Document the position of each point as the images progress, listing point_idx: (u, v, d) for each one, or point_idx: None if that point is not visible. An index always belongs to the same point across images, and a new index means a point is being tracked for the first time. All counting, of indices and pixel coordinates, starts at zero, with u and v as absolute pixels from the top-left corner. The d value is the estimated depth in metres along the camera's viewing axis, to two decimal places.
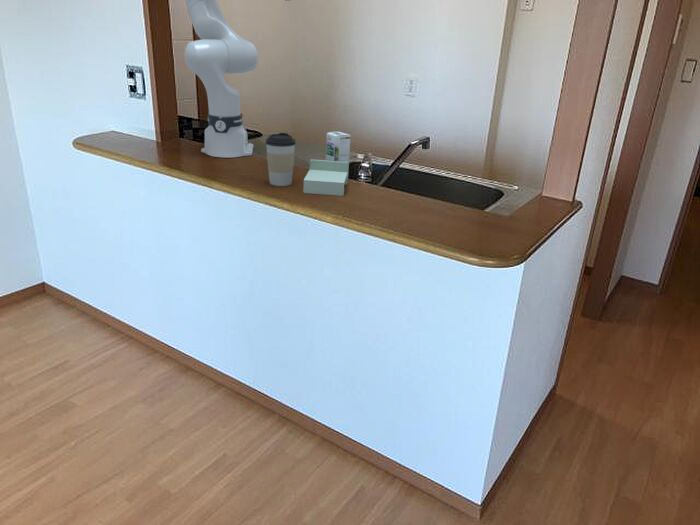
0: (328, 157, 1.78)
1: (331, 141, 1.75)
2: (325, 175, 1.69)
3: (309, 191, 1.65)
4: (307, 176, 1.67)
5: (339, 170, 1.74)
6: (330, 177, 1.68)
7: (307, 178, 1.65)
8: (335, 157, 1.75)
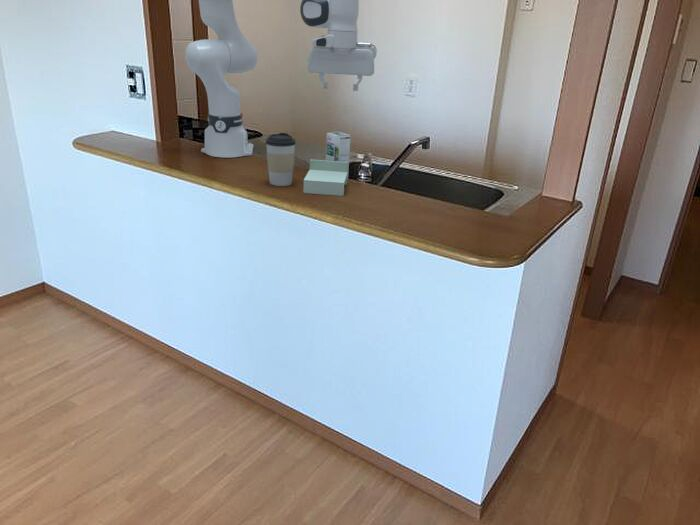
0: (328, 157, 1.78)
1: (331, 141, 1.75)
2: (325, 175, 1.69)
3: (309, 191, 1.65)
4: (307, 176, 1.67)
5: (339, 170, 1.74)
6: (330, 177, 1.68)
7: (307, 178, 1.65)
8: (335, 157, 1.75)
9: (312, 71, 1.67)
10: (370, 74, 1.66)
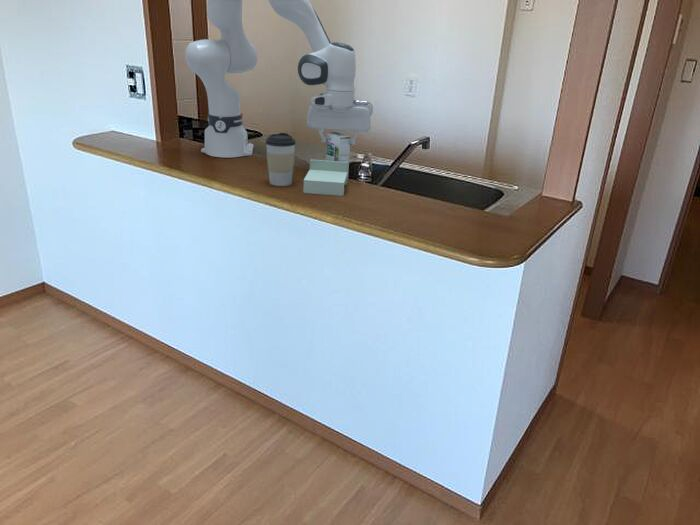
0: (328, 157, 1.78)
1: (331, 141, 1.75)
2: (325, 175, 1.69)
3: (309, 191, 1.65)
4: (307, 176, 1.67)
5: (339, 170, 1.74)
6: (330, 177, 1.68)
7: (307, 178, 1.65)
8: (335, 157, 1.75)
9: (311, 127, 1.74)
10: (367, 130, 1.73)
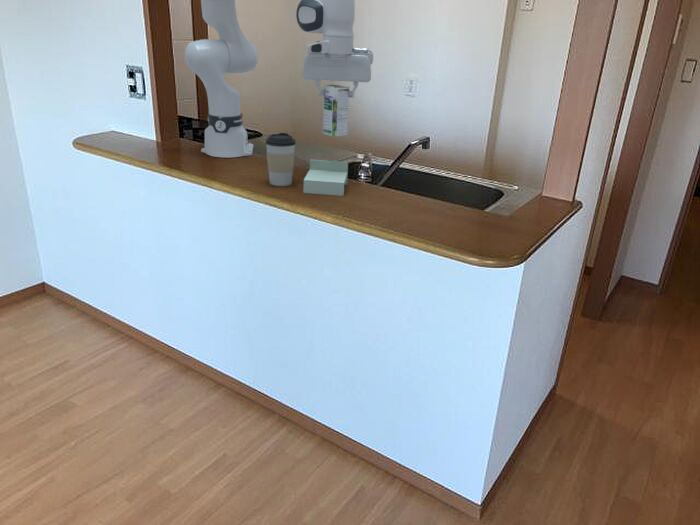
0: (326, 112, 1.67)
1: (329, 94, 1.64)
2: (325, 175, 1.69)
3: (309, 191, 1.65)
4: (307, 176, 1.67)
5: (339, 170, 1.74)
6: (330, 177, 1.68)
7: (307, 178, 1.65)
8: (333, 111, 1.64)
9: (307, 78, 1.62)
10: (367, 80, 1.62)
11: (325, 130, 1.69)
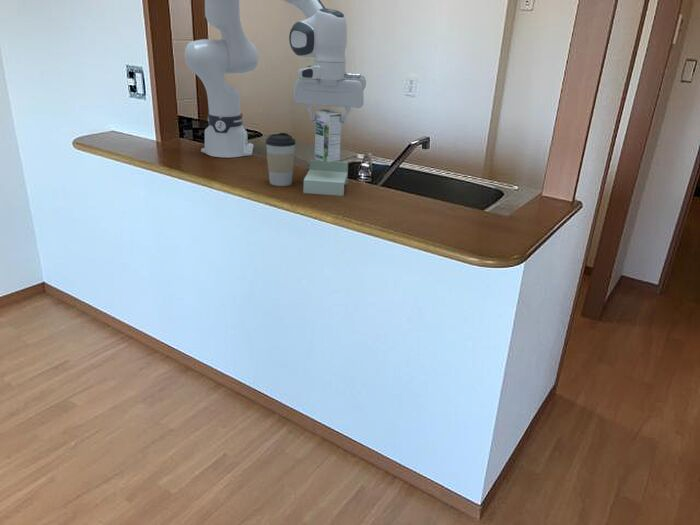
0: (318, 137, 1.63)
1: (321, 119, 1.60)
2: (325, 175, 1.69)
3: (309, 191, 1.65)
4: (307, 176, 1.67)
5: (339, 170, 1.74)
6: (330, 177, 1.68)
7: (307, 178, 1.65)
8: (325, 137, 1.61)
9: (298, 102, 1.59)
10: (359, 106, 1.58)
11: (317, 155, 1.66)
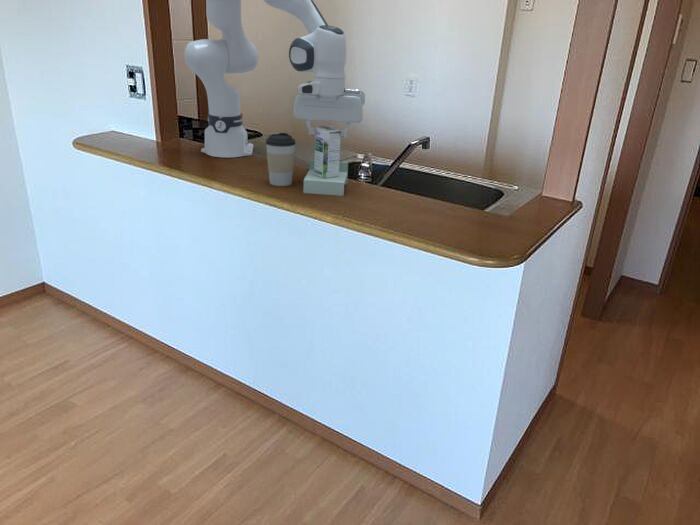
0: (317, 154, 1.65)
1: (320, 136, 1.62)
2: None
3: (309, 191, 1.65)
4: (307, 176, 1.67)
5: (339, 170, 1.74)
6: None
7: (307, 178, 1.65)
8: (324, 154, 1.63)
9: (298, 117, 1.61)
10: (358, 121, 1.60)
11: (316, 171, 1.68)
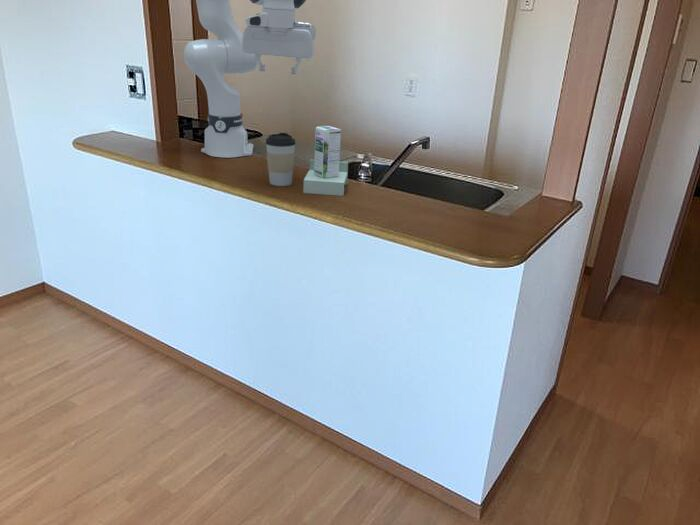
0: (317, 154, 1.65)
1: (320, 136, 1.62)
2: None
3: (309, 191, 1.65)
4: (307, 176, 1.67)
5: (339, 170, 1.74)
6: None
7: (307, 178, 1.65)
8: (324, 154, 1.63)
9: (247, 52, 1.56)
10: (309, 56, 1.56)
11: (316, 171, 1.68)
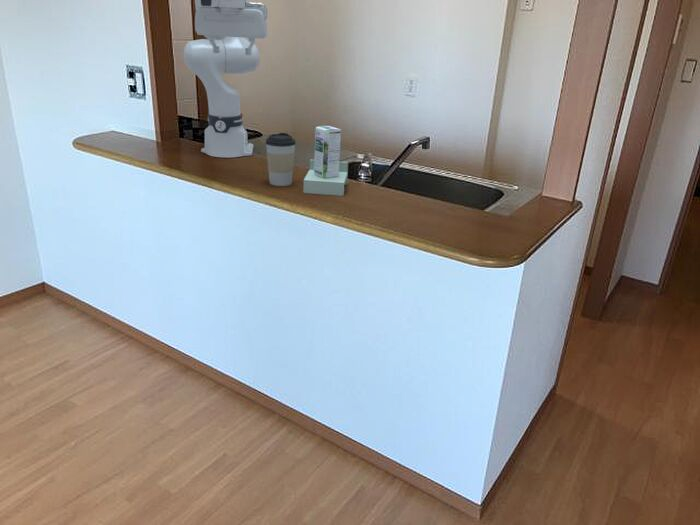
0: (317, 154, 1.65)
1: (320, 136, 1.62)
2: None
3: (309, 191, 1.65)
4: (307, 176, 1.67)
5: (339, 170, 1.74)
6: None
7: (307, 178, 1.65)
8: (324, 154, 1.63)
9: (200, 33, 1.57)
10: (261, 36, 1.56)
11: (316, 171, 1.68)
